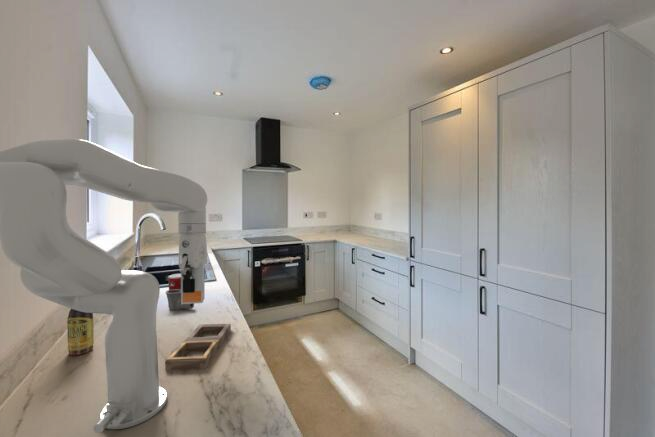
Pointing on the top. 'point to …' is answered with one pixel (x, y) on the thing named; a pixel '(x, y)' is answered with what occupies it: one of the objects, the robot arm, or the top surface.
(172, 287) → the canned food
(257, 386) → the top surface
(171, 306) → the pipe
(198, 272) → the skincare box
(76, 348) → the sauce bottle
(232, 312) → the top surface
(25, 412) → the top surface
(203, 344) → the wooden flat frame
